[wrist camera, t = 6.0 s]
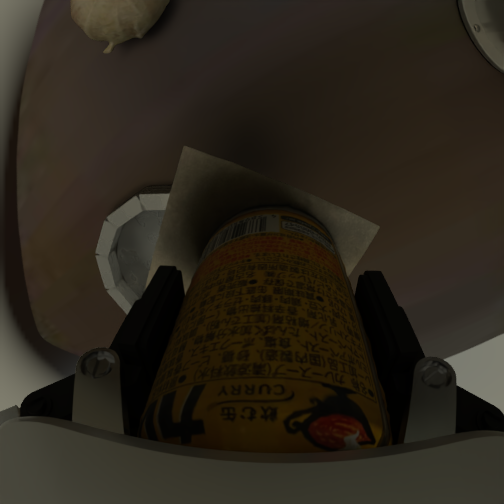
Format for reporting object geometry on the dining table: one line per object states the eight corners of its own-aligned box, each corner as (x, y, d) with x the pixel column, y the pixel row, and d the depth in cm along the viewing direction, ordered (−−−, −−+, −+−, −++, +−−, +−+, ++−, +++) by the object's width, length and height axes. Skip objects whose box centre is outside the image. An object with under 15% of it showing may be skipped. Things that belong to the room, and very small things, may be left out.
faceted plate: (94, 189, 28) (82, 197, 26) (261, 184, 27) (260, 193, 25) (126, 318, 37) (119, 330, 34) (260, 329, 35) (259, 343, 33)
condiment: (302, 341, 16) (312, 576, 5) (146, 286, 15) (38, 520, 4) (378, 224, 12) (519, 518, 2) (186, 143, 11) (-102, 428, 1)
